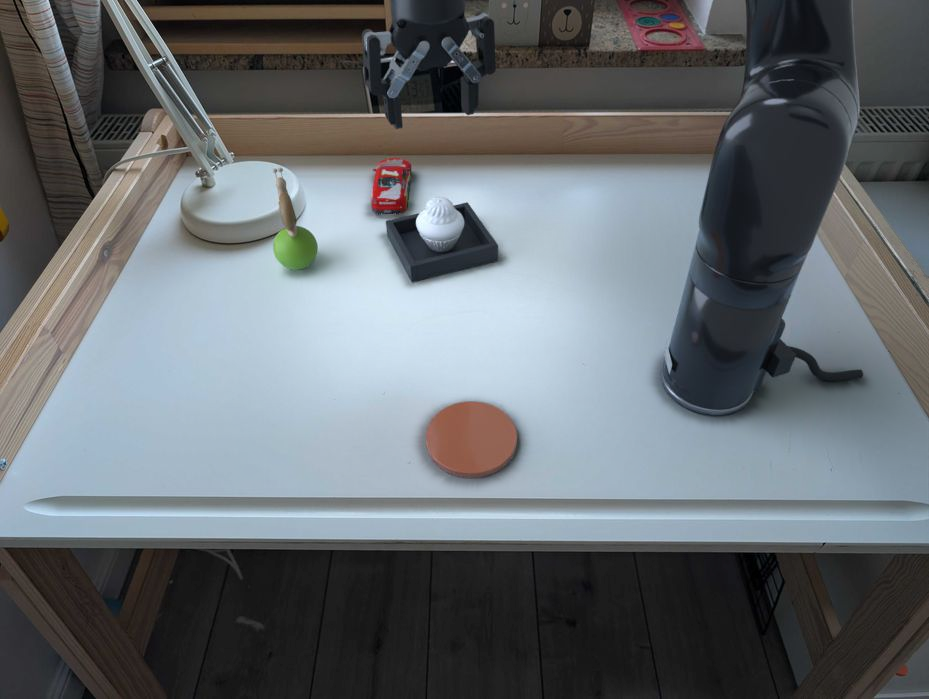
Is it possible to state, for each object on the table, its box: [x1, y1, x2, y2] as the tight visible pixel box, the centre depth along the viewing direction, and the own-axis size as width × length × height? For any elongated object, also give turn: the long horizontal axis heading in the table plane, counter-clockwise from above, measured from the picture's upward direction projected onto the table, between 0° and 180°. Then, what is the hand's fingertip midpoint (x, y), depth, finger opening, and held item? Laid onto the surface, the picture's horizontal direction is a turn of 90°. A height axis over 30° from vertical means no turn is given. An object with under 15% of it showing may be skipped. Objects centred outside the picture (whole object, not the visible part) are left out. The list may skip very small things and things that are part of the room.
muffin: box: [416, 196, 464, 252], centre depth 91 cm, size 6×6×7 cm
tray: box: [385, 202, 499, 283], centre depth 93 cm, size 12×11×2 cm
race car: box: [370, 157, 413, 216], centre depth 102 cm, size 13×5×4 cm, turn 178°
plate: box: [425, 400, 518, 479], centre depth 71 cm, size 9×9×1 cm
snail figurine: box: [272, 167, 319, 271], centre depth 88 cm, size 5×6×12 cm
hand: (432, 118), depth 81 cm, fingers open, 8 cm apart
